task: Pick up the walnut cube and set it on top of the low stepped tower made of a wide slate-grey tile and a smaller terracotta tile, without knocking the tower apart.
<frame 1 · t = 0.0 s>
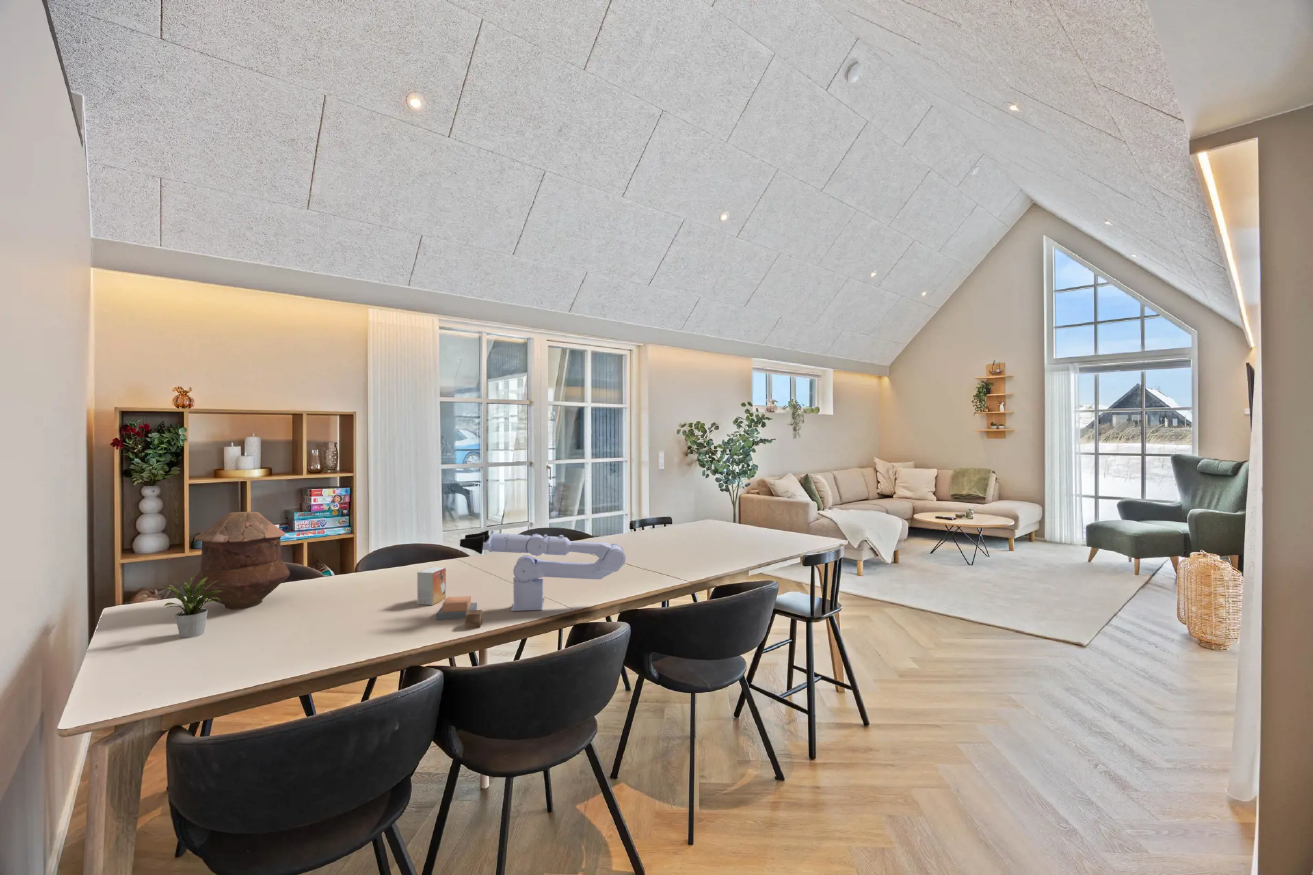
hand: (462, 540, 182), 22 cm above the table, tool horizontal, fingers open, 7 cm apart
house plant: (187, 637, 159), on the table
pottery vessel: (242, 605, 188), on the table
slate tile: (457, 616, 178), on the table, touching terracotta tile
terracotta tile: (457, 607, 178), point 2 cm above the table, touching slate tile
walnut cube: (473, 626, 167), on the table
small box: (431, 602, 191), on the table
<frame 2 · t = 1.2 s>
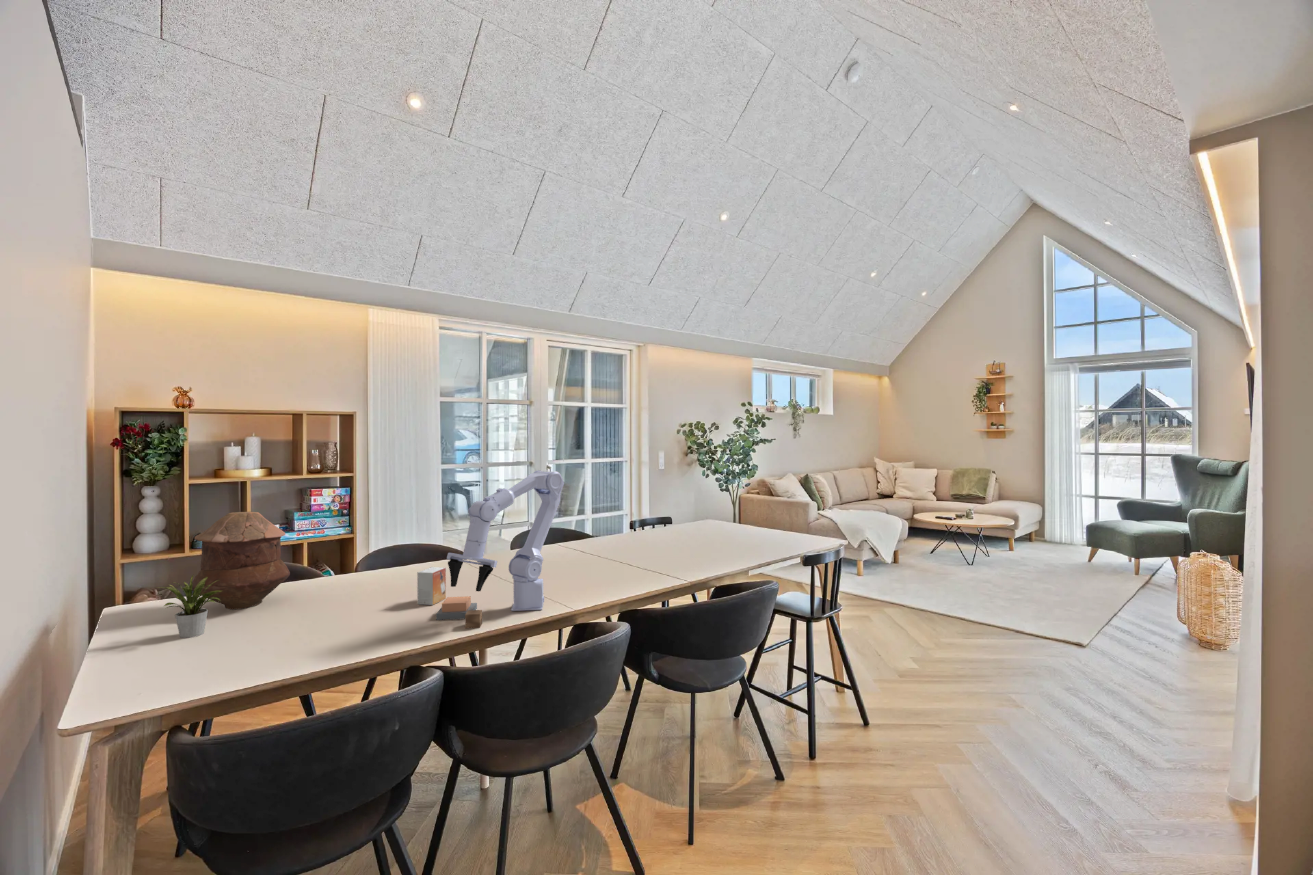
hand: (465, 588, 168), 10 cm above the table, tool tilted 15°, fingers open, 7 cm apart
nothing on the table moved.
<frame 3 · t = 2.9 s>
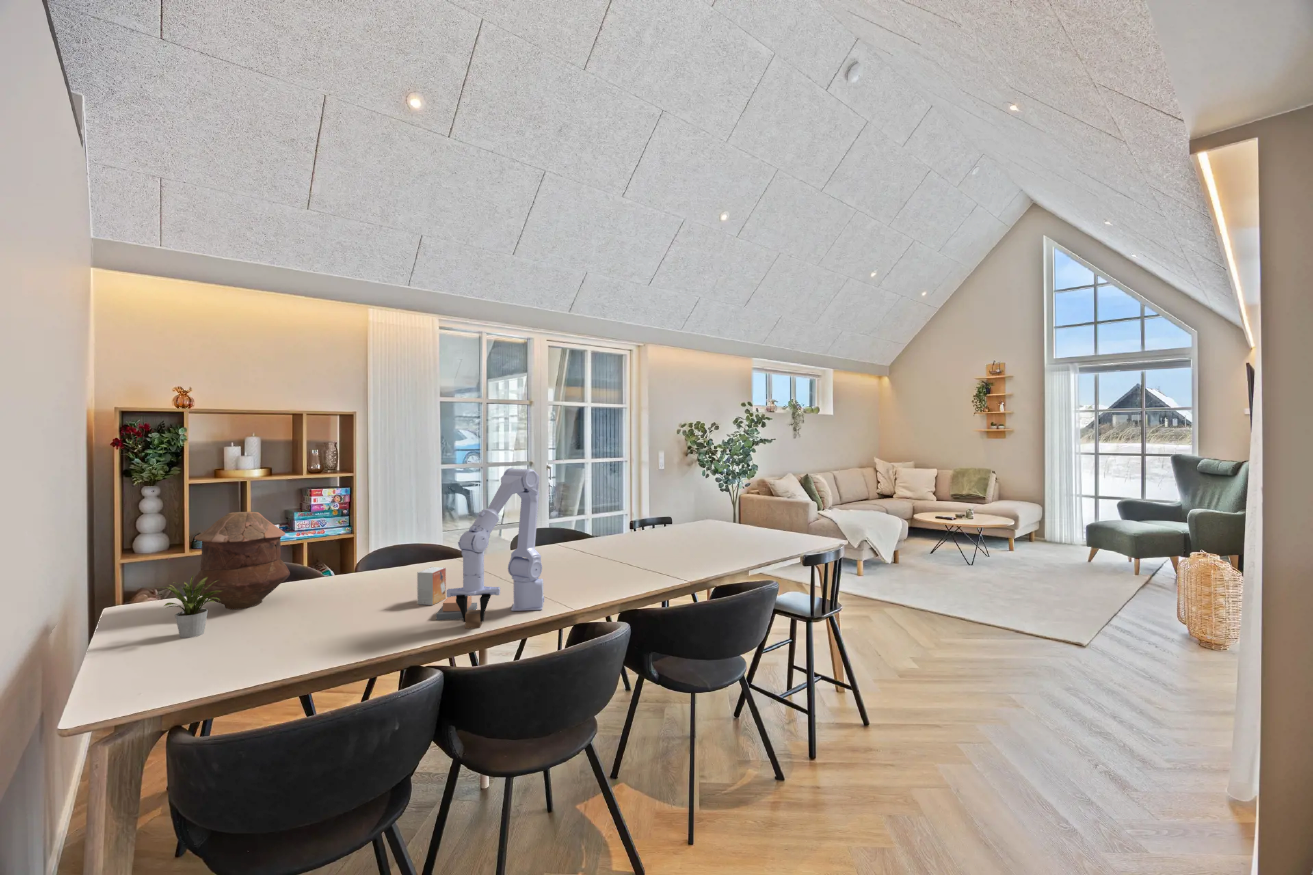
hand: (473, 620, 167), 1 cm above the table, tool pointing down, fingers closed on walnut cube, 4 cm apart
walnut cube: (473, 625, 167), on the table, touching gripper
everything else where it was.
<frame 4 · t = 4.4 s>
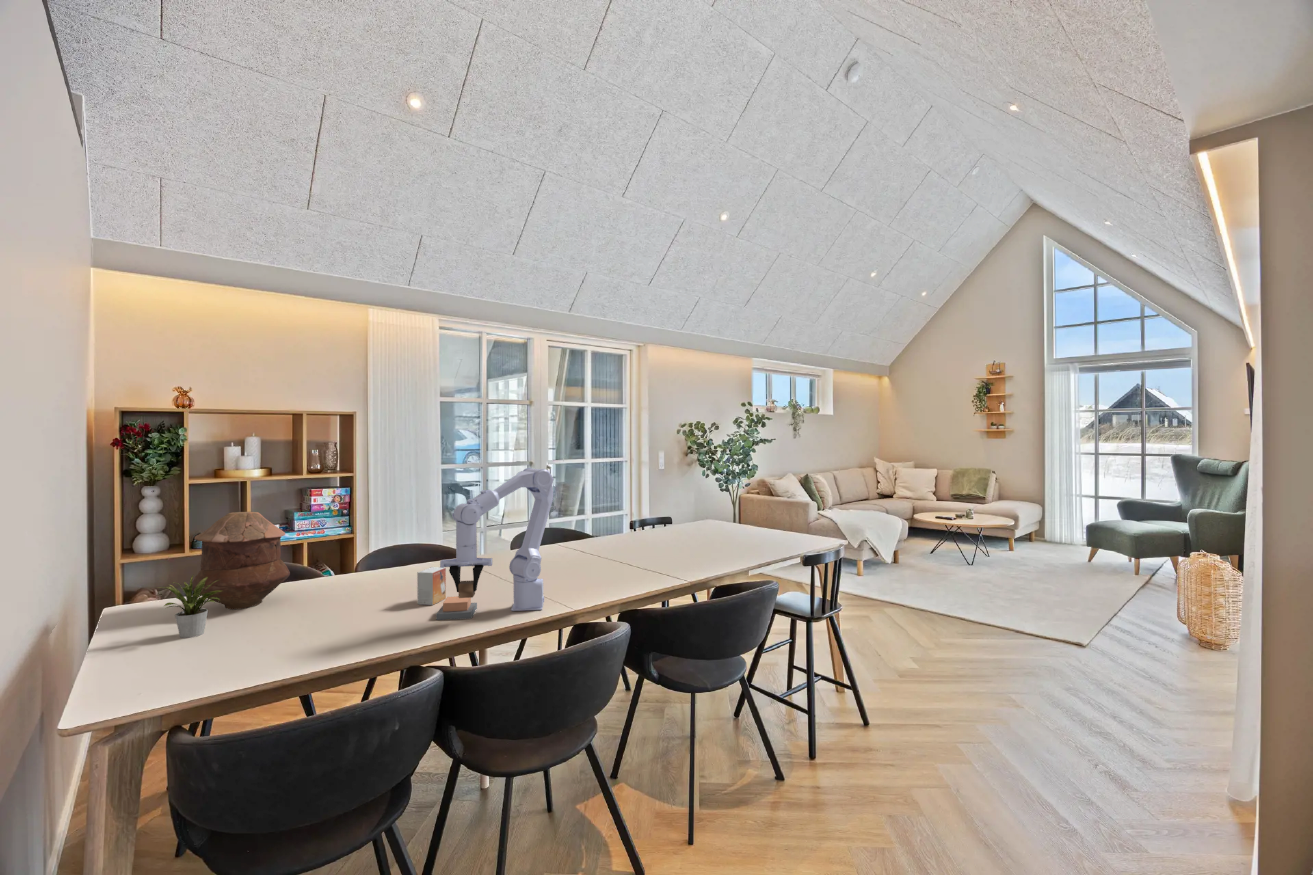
hand: (466, 590, 171), 9 cm above the table, tool pointing down, fingers closed on walnut cube, 4 cm apart
walnut cube: (466, 595, 171), point 7 cm above the table, touching gripper
everything else where it was.
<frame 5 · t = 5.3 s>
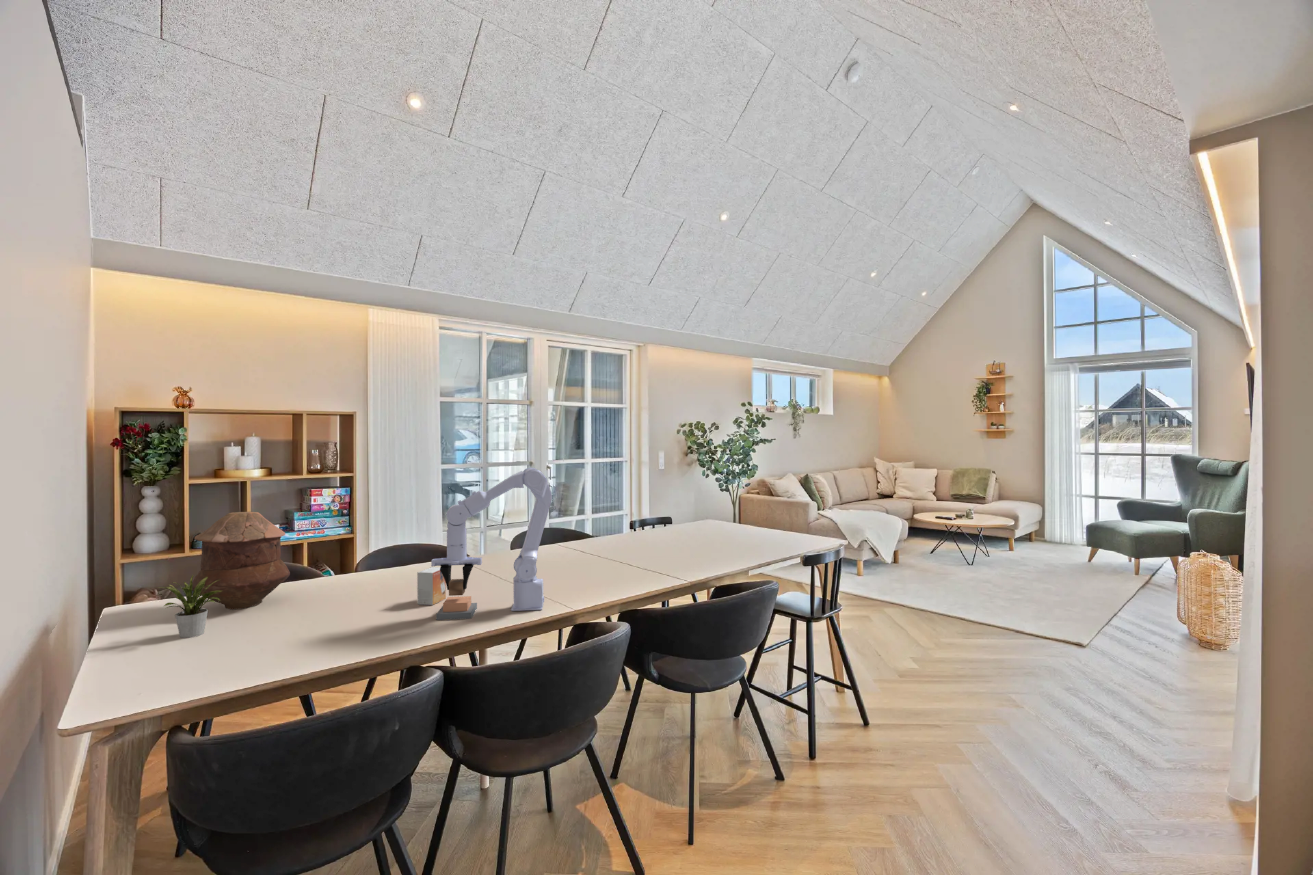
hand: (457, 588, 178), 8 cm above the table, tool pointing down, fingers closed on walnut cube, 4 cm apart
walnut cube: (457, 593, 178), point 6 cm above the table, touching gripper
everything else where it was.
when the fingers open (7 cm above the table, at t = 5.8 s): walnut cube drops 2 cm, point 4 cm above the table.
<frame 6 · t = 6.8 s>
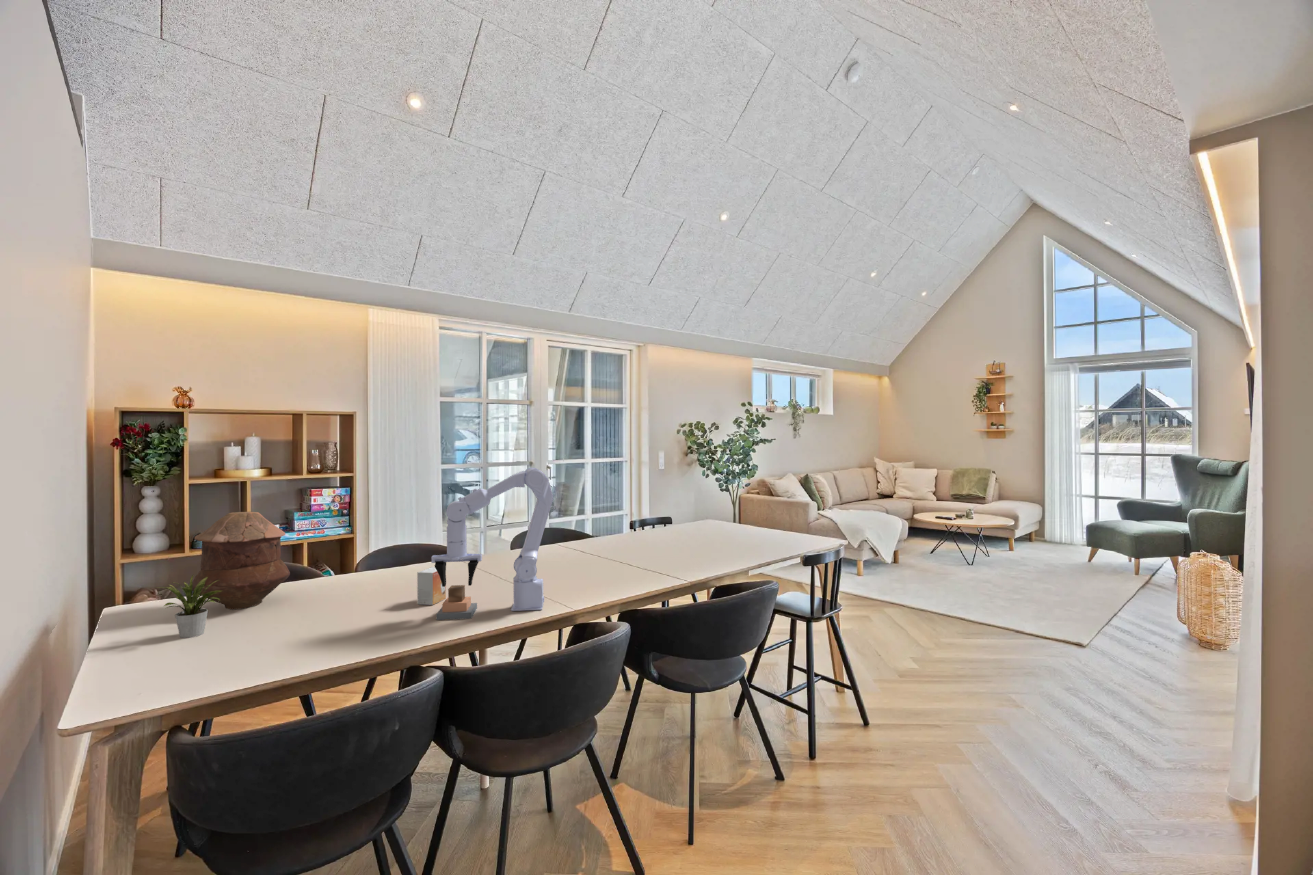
hand: (457, 585, 178), 9 cm above the table, tool pointing down, fingers open, 7 cm apart
walnut cube: (456, 599, 178), point 4 cm above the table
everything else where it was.
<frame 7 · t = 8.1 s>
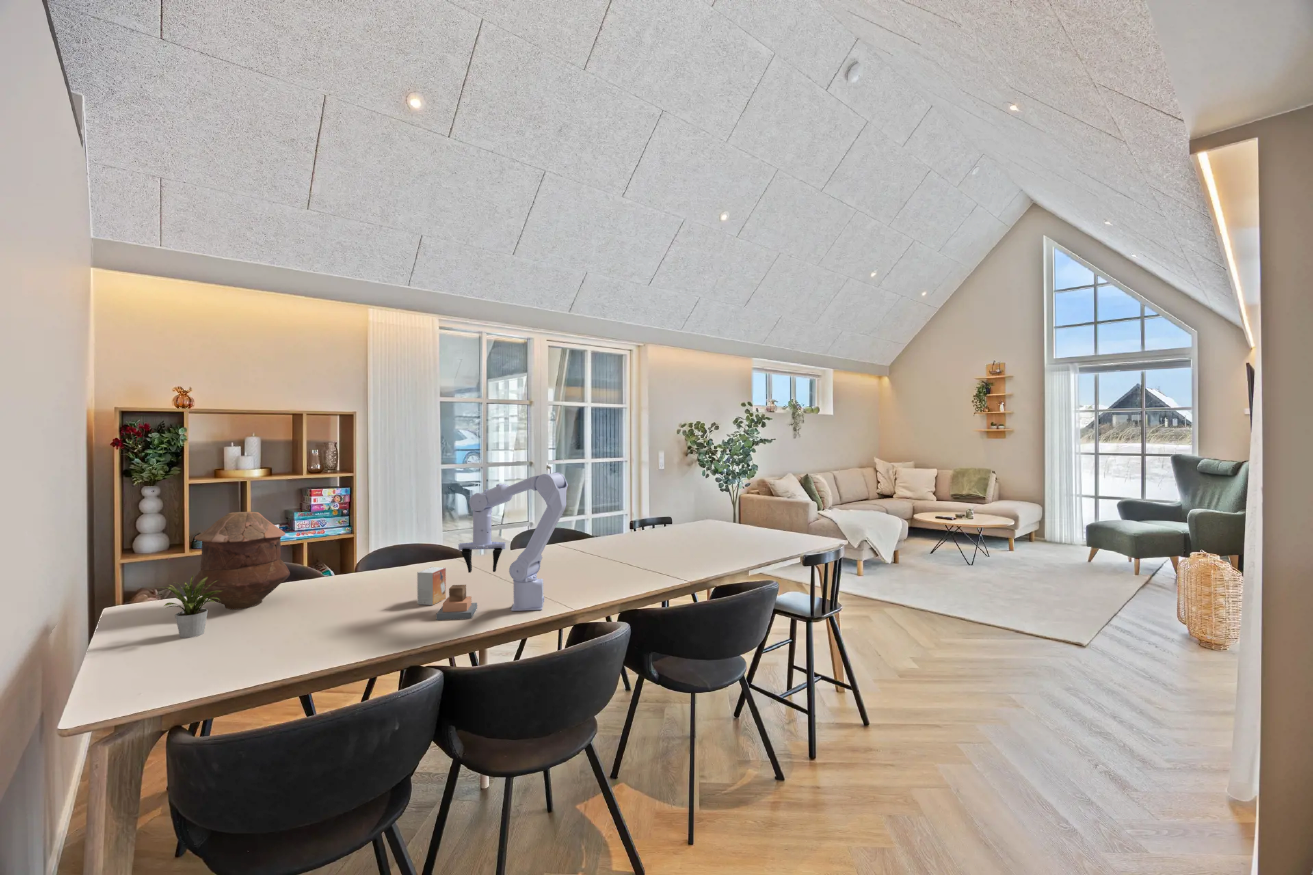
hand: (482, 571, 189), 10 cm above the table, tool pointing down, fingers open, 7 cm apart
terracotta tile: (457, 608, 178), point 2 cm above the table, touching slate tile, walnut cube
walnut cube: (457, 599, 178), point 4 cm above the table, touching terracotta tile
everything else where it was.
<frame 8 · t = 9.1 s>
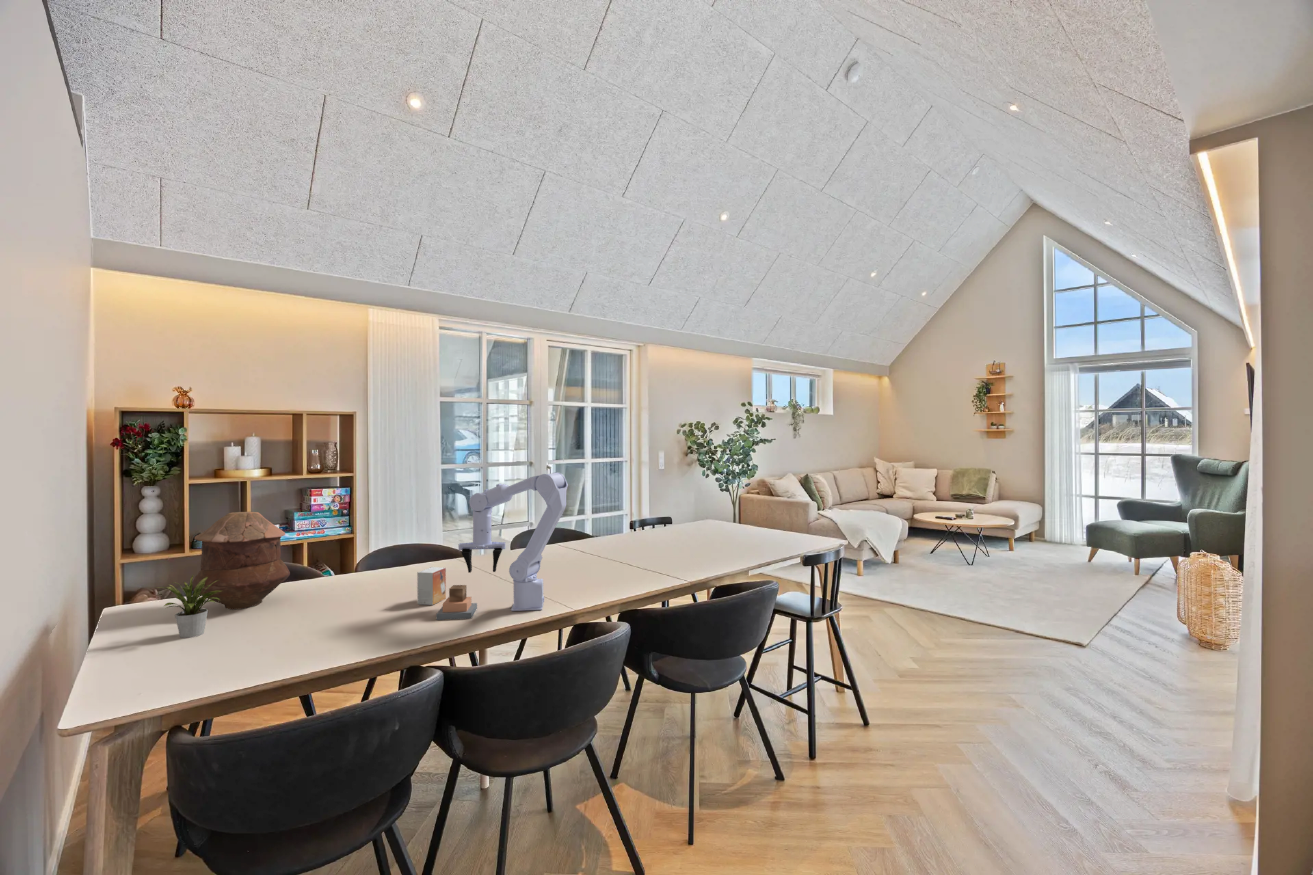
hand: (482, 571, 189), 10 cm above the table, tool pointing down, fingers open, 7 cm apart
nothing on the table moved.
at the end: walnut cube 0.5 cm off-centre on the terracotta tile, point 2.5 cm above the terracotta tile's base; terracotta tile 0.1 cm off-centre on the slate tile, point 2.5 cm above the slate tile's base; slate tile moved 0.7 cm from its start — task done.
